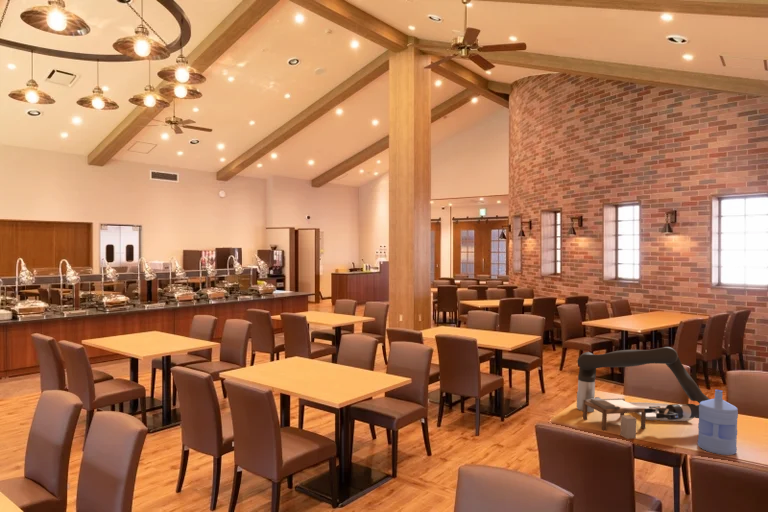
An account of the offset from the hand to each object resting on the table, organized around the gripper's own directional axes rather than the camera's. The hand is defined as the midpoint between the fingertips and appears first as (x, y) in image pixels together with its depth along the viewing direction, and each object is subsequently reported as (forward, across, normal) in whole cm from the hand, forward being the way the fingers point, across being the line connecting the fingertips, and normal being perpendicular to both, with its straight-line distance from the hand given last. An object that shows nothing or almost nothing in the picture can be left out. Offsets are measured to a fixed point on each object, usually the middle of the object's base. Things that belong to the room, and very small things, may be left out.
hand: (650, 413), depth 265 cm
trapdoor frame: (+7, -19, +11) cm, 23 cm away
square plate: (-28, -29, +12) cm, 42 cm away
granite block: (+12, 0, +11) cm, 17 cm away
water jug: (-19, +21, +12) cm, 31 cm away
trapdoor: (+7, -19, +3) cm, 21 cm away
